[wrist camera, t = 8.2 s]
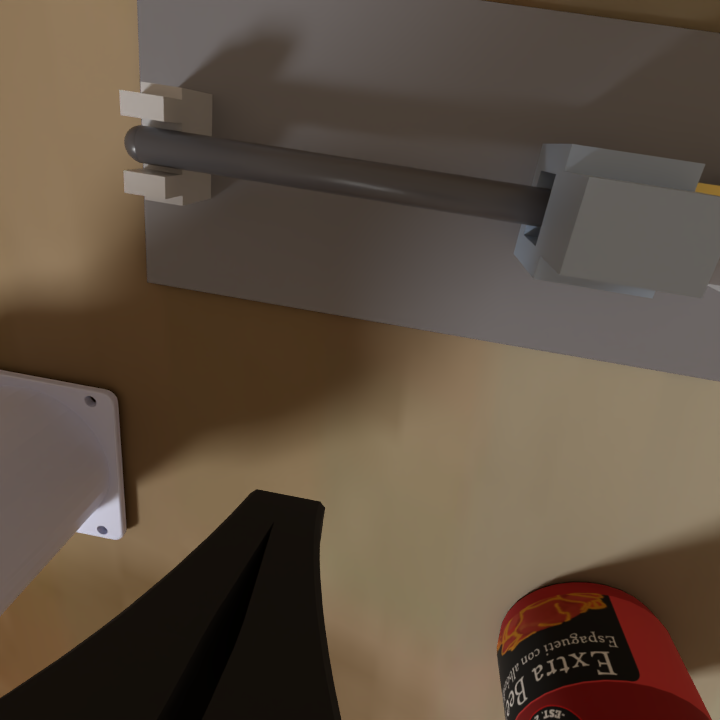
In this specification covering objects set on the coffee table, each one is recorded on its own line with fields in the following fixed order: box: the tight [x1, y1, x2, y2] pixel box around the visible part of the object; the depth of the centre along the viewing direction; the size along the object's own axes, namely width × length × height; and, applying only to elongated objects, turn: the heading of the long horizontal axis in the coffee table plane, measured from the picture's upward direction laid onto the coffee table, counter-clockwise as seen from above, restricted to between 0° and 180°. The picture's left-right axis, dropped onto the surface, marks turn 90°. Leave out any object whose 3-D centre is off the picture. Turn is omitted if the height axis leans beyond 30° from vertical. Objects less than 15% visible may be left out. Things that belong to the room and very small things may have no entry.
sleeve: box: [514, 144, 720, 299], centre depth 13 cm, size 3×3×5 cm
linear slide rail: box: [119, 0, 720, 381], centre depth 15 cm, size 21×10×4 cm, turn 82°
